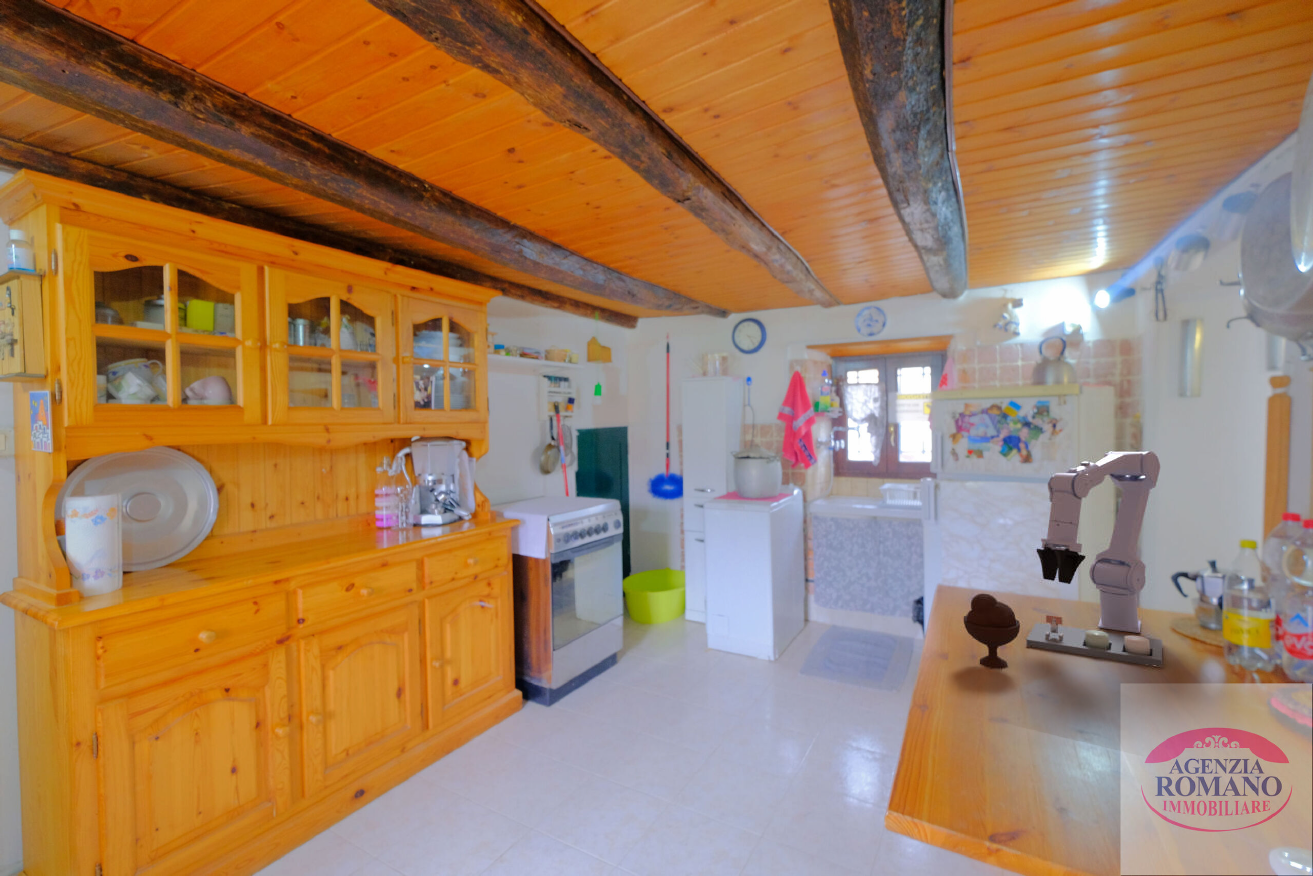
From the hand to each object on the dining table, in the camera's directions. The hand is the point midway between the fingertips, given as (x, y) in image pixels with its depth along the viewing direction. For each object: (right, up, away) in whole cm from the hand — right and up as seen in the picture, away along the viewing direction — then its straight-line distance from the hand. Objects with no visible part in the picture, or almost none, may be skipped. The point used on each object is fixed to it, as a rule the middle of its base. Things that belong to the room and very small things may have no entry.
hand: (1056, 581), depth 137 cm
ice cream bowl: (-19, -16, -8) cm, 26 cm away
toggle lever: (0, -13, 0) cm, 13 cm away
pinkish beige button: (+11, -13, -9) cm, 19 cm away
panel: (+7, -14, -2) cm, 16 cm away
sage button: (+6, -13, -5) cm, 15 cm away
